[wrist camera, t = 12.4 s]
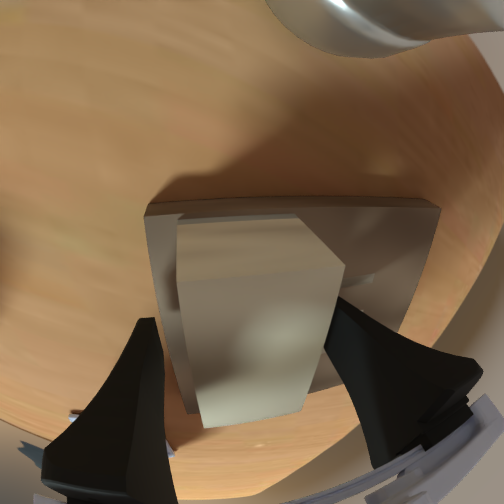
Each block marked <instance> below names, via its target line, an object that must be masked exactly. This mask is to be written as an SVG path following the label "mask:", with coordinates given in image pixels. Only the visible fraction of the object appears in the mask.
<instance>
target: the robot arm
mask: <svg viewBox="0 0 504 504" xmlns="http://www.w3.org/2000/svg"><path fill="white" fill-rule="evenodd" d="M323 347H324V350H325V352H326V353H327V355H328V357H329V359H330V360H331V362H332V364H333V366H334V368H335V369H336V371H337V373H338V374H339V376H340V378H341V380H342V381H343V383H344V385H345V387H346V389H347V391H348V393H349V395H350V397H351V400H352V402H353V405H354V407H355V410H356V412H357V415H358V418H359V421H360V423H361V426H362V429H363V433H364V436H365V439H366V443H367V447H368V451H369V455H370V460H371V464H372V467H373V468H374V470H373V471H371V472H369V473H366V474H364V475H362V476H360V477H358V478H355V479H353V480H351V481H348V482H346V483H343V484H341V485H338V486H335V487H333V488H330V489H327V490H325V491H322V492H319V493H316V494H313V495H309V496H306V497H303V498H300V499H296V500H293V501H289V502H285V503H281V504H334V503H337V502H339V501H342V500H344V499H347V498H349V497H351V496H354V495H356V494H358V493H360V492H362V491H365V490H367V489H369V488H371V487H373V486H375V485H377V484H379V483H381V482H383V481H385V480H387V479H388V478H391V477H392V476H394V475H396V474H398V473H399V474H398V476H397V479H396V480H395V481H393V482H391V483H389V484H388V485H386V486H384V487H382V488H380V489H379V490H377V491H375V492H373V493H371V494H369V495H367V496H365V498H364V499H365V501H366V503H367V504H437V503H438V502H440V501H441V500H442V499H443V498H444V497H445V496H446V495H447V494H448V493H449V492H450V491H451V490H452V489H453V488H454V487H456V486H457V485H458V484H459V483H460V481H461V480H462V479H463V478H464V477H465V476H466V475H467V474H468V473H469V472H470V471H471V470H472V469H473V468H474V466H475V465H476V464H477V463H478V462H479V461H480V460H481V458H482V457H483V456H484V455H485V454H486V452H487V451H488V450H489V449H490V447H491V446H492V445H493V444H494V442H495V441H496V440H497V439H498V438H499V437H500V435H501V434H502V433H503V432H504V418H503V416H502V415H501V413H500V412H499V411H498V409H497V408H496V406H495V405H494V404H493V402H492V401H491V400H490V398H489V397H488V396H487V395H486V394H483V395H482V396H481V397H480V398H479V399H478V400H476V401H475V402H474V403H473V404H472V405H471V406H470V407H468V405H467V404H466V403H468V402H469V399H468V398H467V396H466V395H467V394H468V393H469V391H470V390H471V389H472V388H473V387H474V385H475V384H476V383H477V382H478V380H479V379H480V378H481V376H482V374H483V369H482V368H481V367H480V366H479V365H478V363H477V362H476V361H475V360H474V359H472V358H467V357H461V356H456V355H452V354H448V353H444V352H440V351H438V350H435V349H432V348H429V347H426V346H424V345H421V344H419V343H416V342H414V341H412V340H410V339H408V338H406V337H404V336H402V335H400V334H398V333H396V332H394V331H393V330H391V329H389V328H387V327H386V326H384V325H382V324H381V323H379V322H378V321H376V320H374V319H373V318H371V317H370V316H368V315H367V314H365V313H364V312H362V311H361V310H359V309H358V308H356V307H355V306H353V305H352V304H350V303H349V302H347V301H346V300H344V299H343V298H341V297H339V296H338V297H337V301H336V305H335V309H334V312H333V316H332V319H331V323H330V326H329V330H328V333H327V336H326V340H325V343H324V346H323ZM164 383H165V369H164V355H163V349H162V345H161V341H160V337H159V334H158V330H157V326H156V322H155V317H151V318H140V319H139V320H138V321H137V323H136V326H135V328H134V330H133V332H132V334H131V336H130V338H129V340H128V342H127V344H126V346H125V348H124V350H123V352H122V354H121V356H120V358H119V360H118V361H117V363H116V365H115V366H114V368H113V370H112V371H111V373H110V375H109V376H108V378H107V380H106V381H105V383H104V384H103V386H102V387H101V388H100V390H99V391H98V393H97V394H96V395H95V397H94V398H93V399H92V401H91V402H90V403H89V404H88V406H87V407H86V408H85V409H84V411H83V412H82V413H81V414H80V415H77V414H69V420H70V421H71V422H72V424H71V425H70V426H69V427H68V428H67V429H66V430H65V431H64V432H63V433H62V434H61V435H59V436H58V437H57V438H56V439H55V440H54V441H53V442H51V443H50V444H49V445H48V446H47V447H45V449H44V453H43V459H42V470H41V481H42V483H43V484H44V485H46V486H47V487H49V488H51V489H53V490H55V491H57V492H58V493H60V494H63V495H65V496H67V503H66V502H63V501H60V500H57V499H53V498H49V497H46V496H43V495H40V494H37V493H35V494H34V504H178V501H177V497H176V493H175V489H174V485H173V480H172V475H171V470H170V465H169V459H168V457H174V456H175V453H174V452H173V450H172V448H171V447H170V445H169V443H168V442H167V440H166V438H165V430H164Z"/></svg>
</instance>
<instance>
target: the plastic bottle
mask: <svg viewBox="0 0 504 504" xmlns="http://www.w3.org/2000/svg"><path fill="white" fill-rule="evenodd" d="M265 1H266V3H267V5H268V6H269V7H270V9H271V10H272V12H273V13H274V15H275V16H276V17H277V18H278V19H279V20H280V21H281V23H282V24H283V25H284V26H285V27H286V28H287V29H289V30H290V31H291V32H292V33H294V34H295V35H296V36H297V37H298V38H300V39H302V40H303V41H305V42H306V43H308V44H310V45H311V46H313V47H315V48H318V49H320V50H322V51H324V52H327V53H331V54H334V55H337V56H345V57H356V58H370V59H374V58H385V57H388V56H391V55H394V54H397V53H400V52H404V51H407V50H410V49H414V48H417V47H419V46H421V45H423V44H426V43H428V42H430V41H431V40H434V39H439V38H445V37H451V36H457V35H464V34H472V33H482V32H493V31H504V0H265Z"/></svg>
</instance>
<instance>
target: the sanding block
mask: <svg viewBox="0 0 504 504" xmlns="http://www.w3.org/2000/svg"><path fill="white" fill-rule="evenodd" d="M344 269H345V264H344V263H343V262H342V261H341V260H340V259H339V258H338V257H337V256H336V255H335V254H334V253H333V252H332V251H331V250H330V249H329V248H328V247H327V246H326V245H325V244H324V243H323V242H322V241H321V240H320V239H319V238H318V237H317V236H316V235H315V234H314V233H313V232H312V231H311V230H310V229H309V228H308V227H307V226H306V225H305V224H304V223H303V222H302V221H301V220H300V219H299V218H298V217H297V216H296V215H295V214H270V215H248V216H229V217H212V218H196V219H182V220H177V254H176V282H177V290H178V297H179V304H180V311H181V317H182V324H183V330H184V336H185V341H186V347H187V352H188V358H189V363H190V368H191V373H192V378H193V383H194V387H195V392H196V396H197V401H198V405H199V410H200V414H201V418H202V422H203V426H204V428H212V427H220V426H228V425H235V424H241V423H247V422H253V421H259V420H264V419H269V418H274V417H278V416H283V415H287V414H291V413H295V412H299V411H301V409H302V407H303V404H304V401H305V399H306V396H307V393H308V391H309V388H310V385H311V382H312V379H313V377H314V374H315V371H316V368H317V365H318V362H319V359H320V356H321V352H322V349H323V346H324V343H325V340H326V336H327V333H328V330H329V326H330V323H331V319H332V316H333V312H334V309H335V305H336V301H337V297H338V294H339V290H340V286H341V282H342V278H343V274H344Z"/></svg>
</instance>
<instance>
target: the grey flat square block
mask: <svg viewBox="0 0 504 504" xmlns="http://www.w3.org/2000/svg"><path fill="white" fill-rule="evenodd" d="M440 212H441V208H440V207H438V206H436V205H434V204H433V203H431V202H429V201H427V200H425V199H413V198H392V197H362V196H276V197H244V198H222V199H204V200H189V201H175V202H163V203H151V204H148V206H147V209H146V212H145V214H144V223H145V231H146V238H147V245H148V252H149V258H150V264H151V270H152V276H153V281H154V287H155V292H156V297H157V302H158V307H159V312H160V316H161V321H162V325H163V329H164V334H165V338H166V342H167V346H168V350H169V354H170V358H171V361H172V365H173V369H174V372H175V376H176V379H177V383H178V386H179V389H180V393H181V396H182V399H183V402H184V406H185V409H186V412H187V414H195V413H200V410H199V405H198V401H197V396H196V392H195V387H194V383H193V378H192V373H191V368H190V363H189V358H188V352H187V347H186V341H185V336H184V330H183V324H182V317H181V311H180V304H179V297H178V290H177V282H176V254H177V220H182V219H196V218H212V217H229V216H248V215H270V214H295V215H296V216H297V217H298V218H299V219H300V220H301V221H302V222H303V223H304V224H305V225H306V226H307V227H308V228H309V229H310V230H311V231H312V232H313V233H314V234H315V235H316V236H317V237H318V238H319V239H320V240H321V241H322V242H323V243H324V244H325V245H326V246H327V247H328V248H329V249H330V250H331V251H332V252H333V253H334V254H335V255H336V256H337V257H338V258H339V259H340V260H341V261H342V262H343V263H344V264H345V269H344V274H343V278H342V282H341V286H340V290H339V294H338V296H339V297H341V298H343V299H344V300H346V301H347V302H349V303H350V304H352V305H353V306H355V307H356V308H358V309H359V310H361V311H362V312H364V313H365V314H367V315H368V316H370V317H371V318H373V319H374V320H376V321H378V322H379V323H381V324H382V325H384V326H386V327H387V328H389V329H391V330H393V331H394V332H396V333H397V332H398V330H399V328H400V325H401V323H402V321H403V319H404V317H405V314H406V312H407V310H408V307H409V305H410V303H411V300H412V298H413V295H414V293H415V290H416V288H417V285H418V282H419V280H420V277H421V274H422V271H423V269H424V266H425V263H426V260H427V257H428V254H429V251H430V248H431V244H432V241H433V238H434V234H435V231H436V227H437V224H438V220H439V216H440ZM341 384H344V383H343V381H342V380H341V378H340V376H339V374H338V373H337V371H336V369H335V368H334V366H333V364H332V362H331V360H330V359H329V357H328V355H327V353H326V352H325V350H324V347H323V349H322V352H321V356H320V359H319V362H318V365H317V368H316V371H315V374H314V377H313V379H312V382H311V385H310V388H309V391H308V393H307V394H309V393H313V392H317V391H321V390H324V389H328V388H331V387H334V386H338V385H341Z"/></svg>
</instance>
